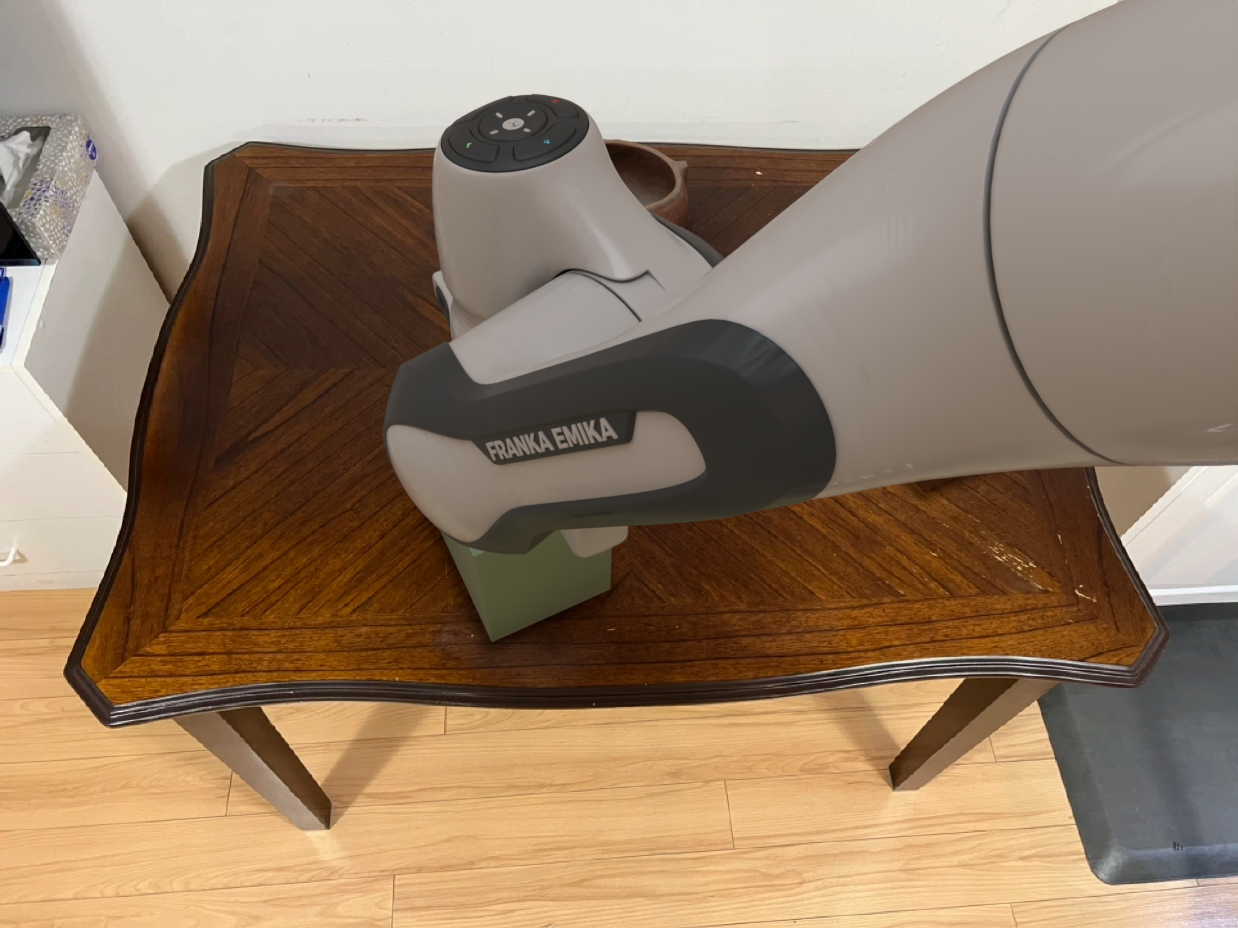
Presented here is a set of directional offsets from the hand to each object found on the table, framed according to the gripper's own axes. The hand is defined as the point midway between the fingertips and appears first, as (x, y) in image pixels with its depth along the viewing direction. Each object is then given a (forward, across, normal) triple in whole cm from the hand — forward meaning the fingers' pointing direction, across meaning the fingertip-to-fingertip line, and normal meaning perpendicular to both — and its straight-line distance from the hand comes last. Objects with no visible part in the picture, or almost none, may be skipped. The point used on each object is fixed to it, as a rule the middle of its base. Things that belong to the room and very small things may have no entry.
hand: (541, 476), depth 68 cm
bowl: (+17, +35, -24) cm, 46 cm away
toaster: (+17, +5, +1) cm, 17 cm away
